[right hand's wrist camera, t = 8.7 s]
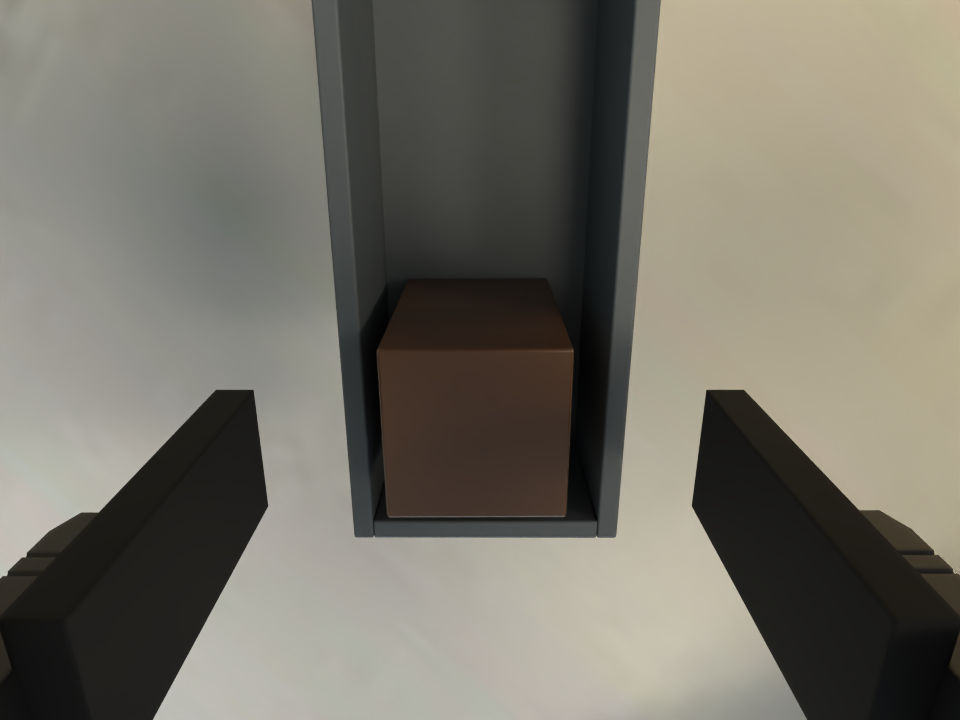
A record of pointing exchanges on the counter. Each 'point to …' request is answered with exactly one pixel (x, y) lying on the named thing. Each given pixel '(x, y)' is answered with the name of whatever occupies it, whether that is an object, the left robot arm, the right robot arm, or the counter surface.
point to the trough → (489, 203)
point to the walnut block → (476, 400)
